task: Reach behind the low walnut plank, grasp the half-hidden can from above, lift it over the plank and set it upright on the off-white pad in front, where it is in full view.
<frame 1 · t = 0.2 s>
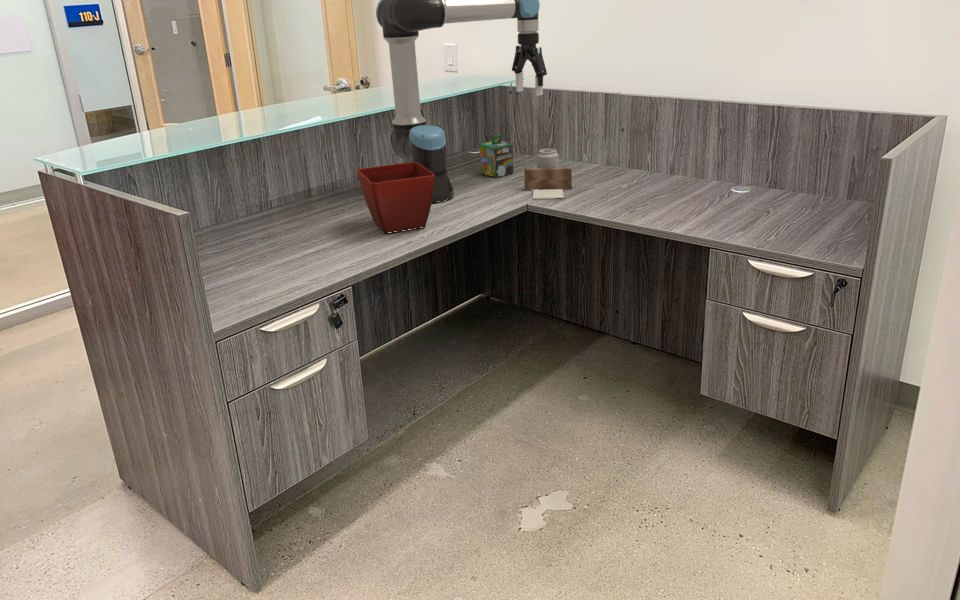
hand: (529, 93, 280), 28 cm above the table, tool pointing down, fingers open, 13 cm apart
can: (548, 184, 269), on the table
walnut plank: (548, 188, 262), on the table
pad: (548, 195, 255), on the table
plant pot: (400, 226, 232), on the table
chalk box: (497, 174, 285), on the table
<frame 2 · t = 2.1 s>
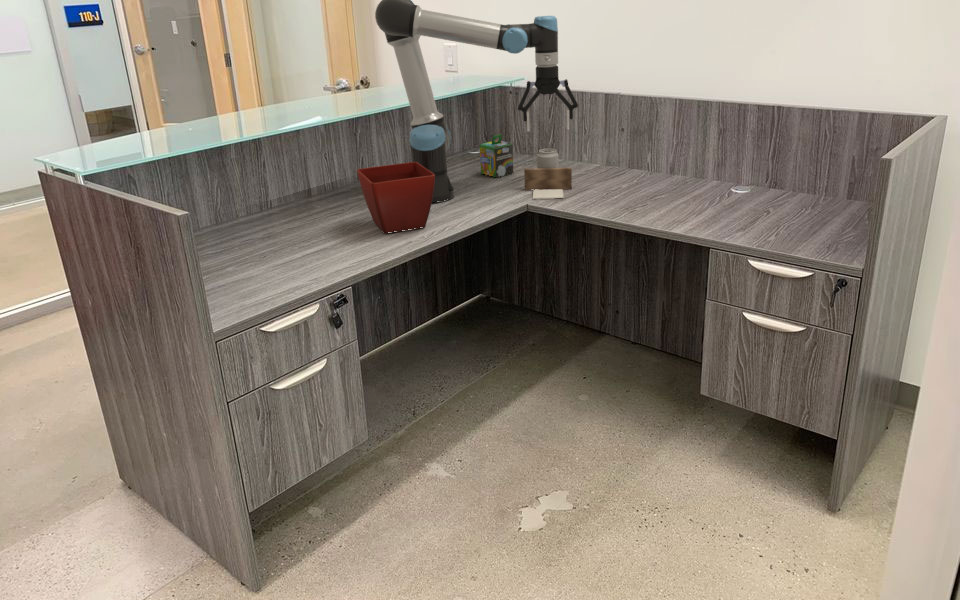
hand: (548, 129, 261), 19 cm above the table, tool pointing down, fingers open, 13 cm apart
nothing on the table moved.
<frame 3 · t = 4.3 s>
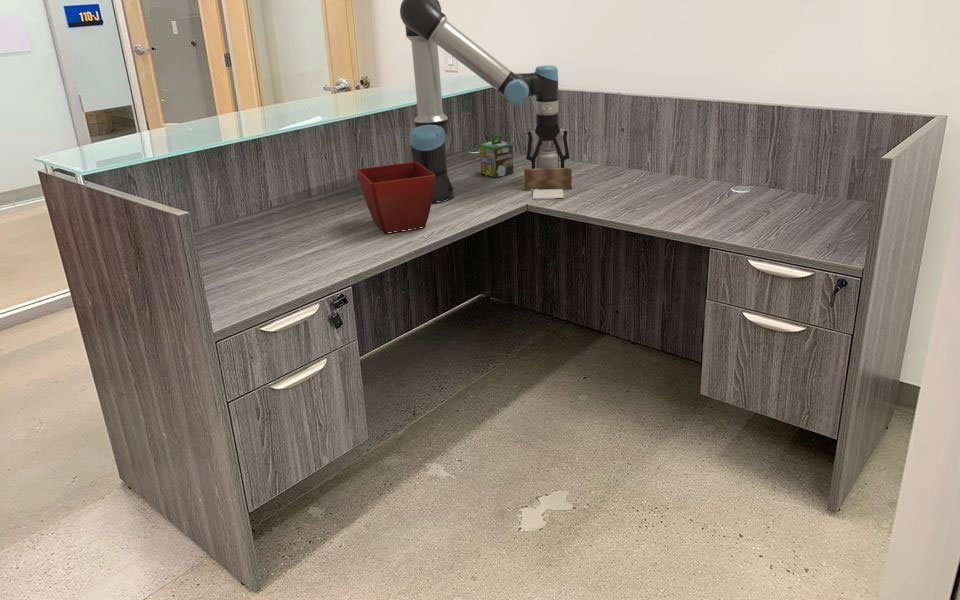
hand: (548, 179, 268), 2 cm above the table, tool pointing down, fingers closed on can, 7 cm apart
can: (548, 184, 269), on the table, touching gripper
everything else where it was.
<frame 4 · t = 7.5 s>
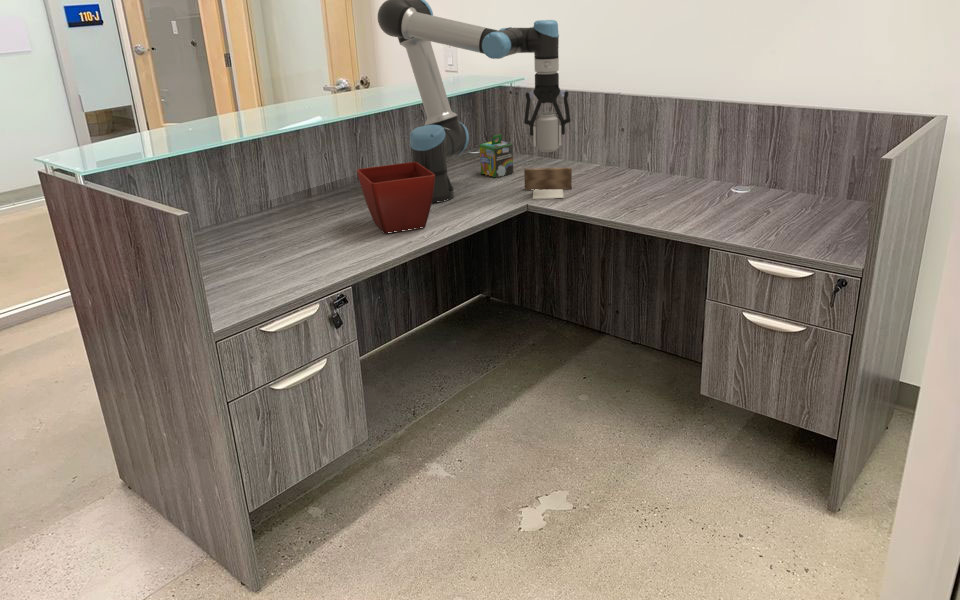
hand: (547, 145, 248), 17 cm above the table, tool pointing down, fingers closed on can, 7 cm apart
can: (547, 150, 249), point 15 cm above the table, touching gripper
everything else where it was.
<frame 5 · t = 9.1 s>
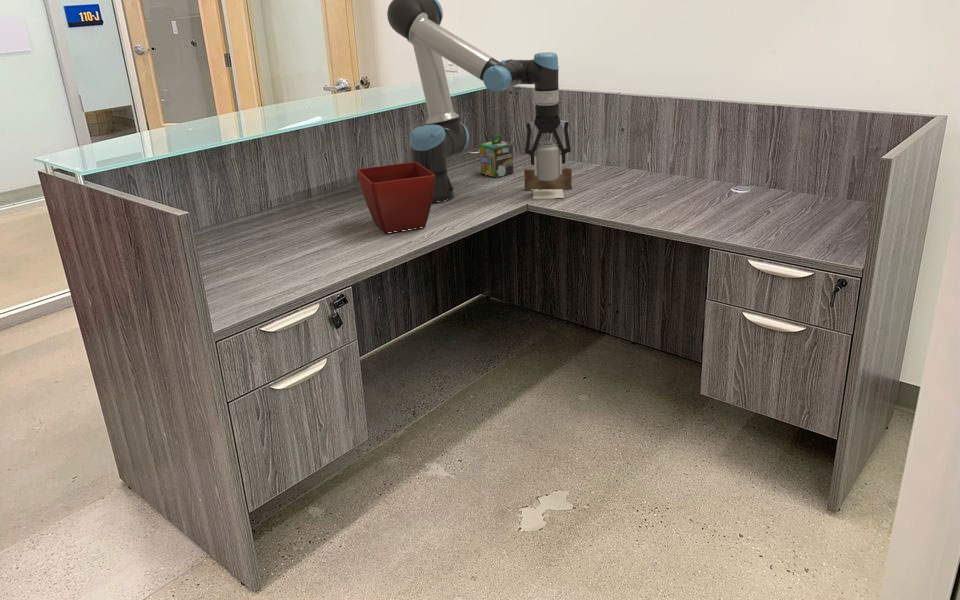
hand: (548, 173, 252), 7 cm above the table, tool pointing down, fingers closed on can, 7 cm apart
can: (548, 179, 253), point 5 cm above the table, touching gripper
everything else where it was.
when the fingers open (4 cm above the table, at t = 10.7 s): can drops 1 cm, resting on pad.
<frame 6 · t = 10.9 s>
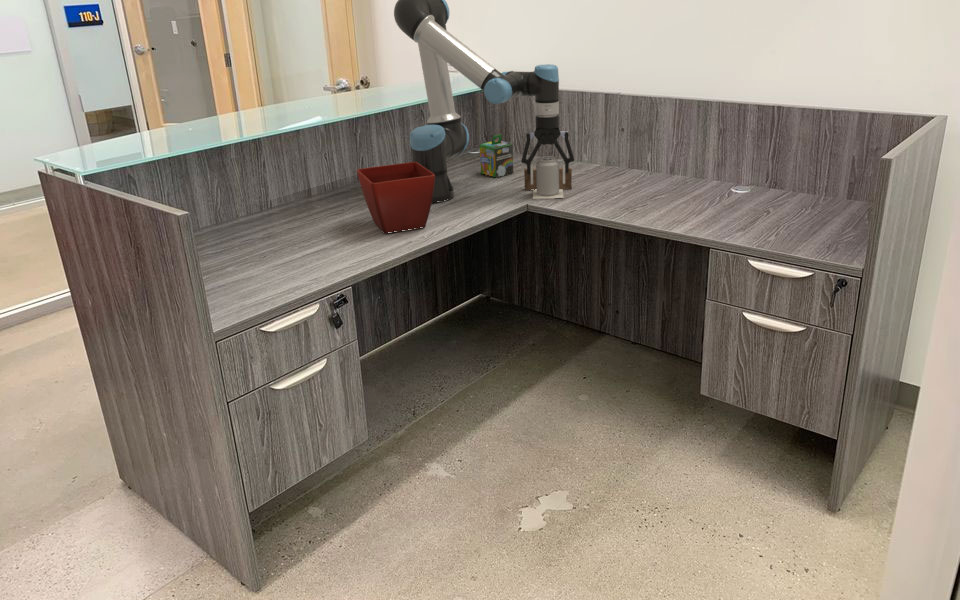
hand: (547, 183, 253), 4 cm above the table, tool pointing down, fingers open, 10 cm apart
can: (547, 194, 255), resting on pad
everything else where it was.
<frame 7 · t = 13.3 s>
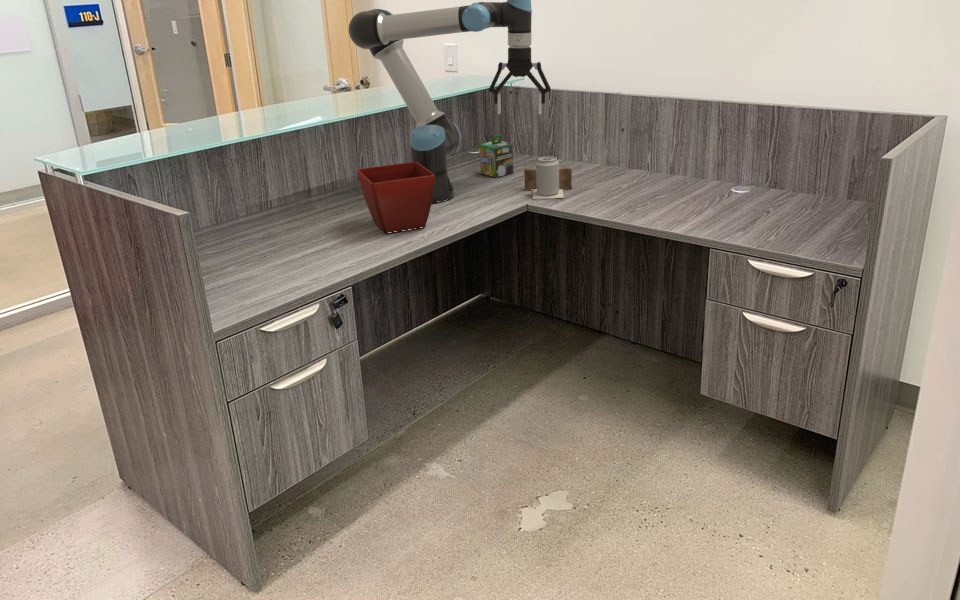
hand: (519, 113, 253), 26 cm above the table, tool pointing down, fingers open, 13 cm apart
nothing on the table moved.
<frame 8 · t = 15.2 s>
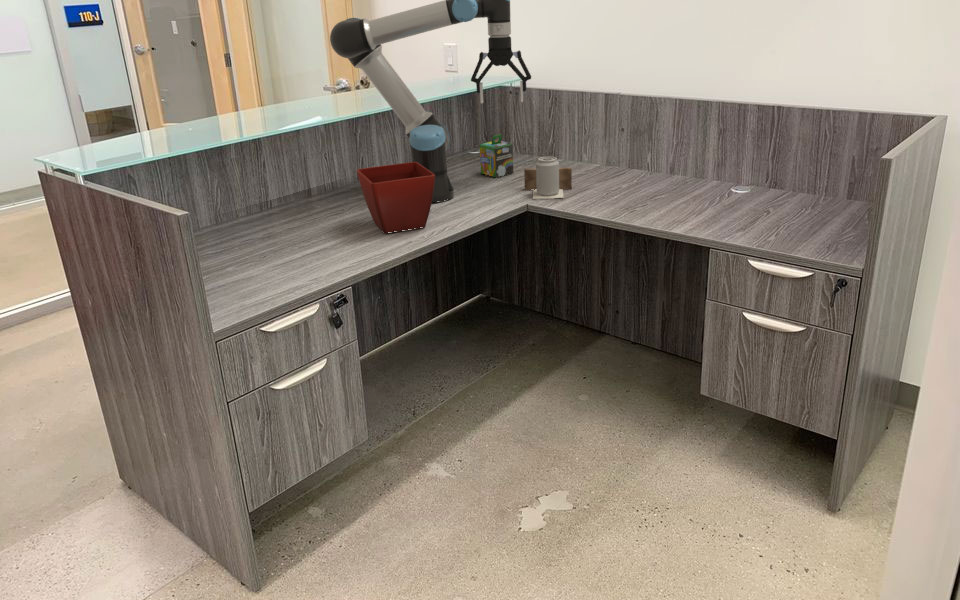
hand: (501, 102, 258), 29 cm above the table, tool pointing down, fingers open, 13 cm apart
nothing on the table moved.
at the end: can inside the target area on the pad (0.1 cm from its centre), point 0.4 cm above the pad's base; can tilted 0°; the gripper is holding nothing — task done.
